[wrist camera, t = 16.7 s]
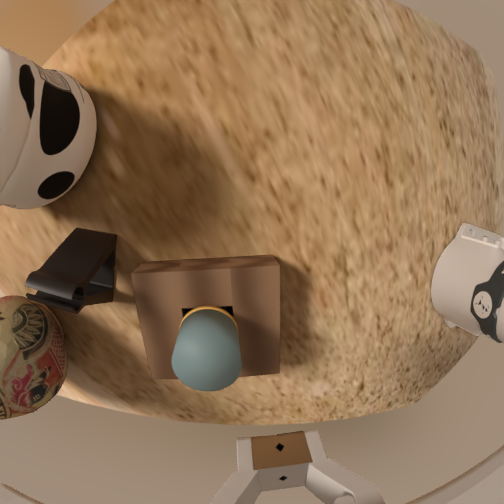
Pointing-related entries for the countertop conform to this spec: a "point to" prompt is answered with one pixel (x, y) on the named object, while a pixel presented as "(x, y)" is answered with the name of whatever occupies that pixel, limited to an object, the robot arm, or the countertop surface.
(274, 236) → the countertop surface
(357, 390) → the countertop surface
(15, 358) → the ceramic jug
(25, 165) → the milk container
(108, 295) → the phone stand
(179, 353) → the leg
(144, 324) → the board
